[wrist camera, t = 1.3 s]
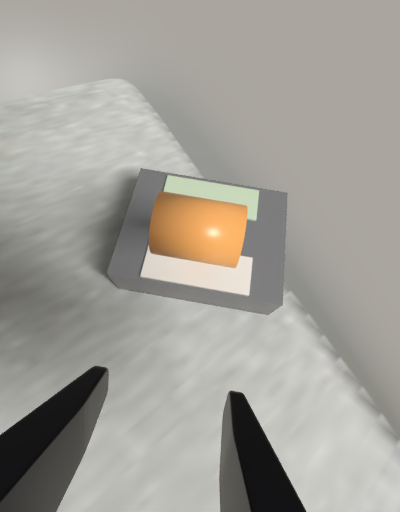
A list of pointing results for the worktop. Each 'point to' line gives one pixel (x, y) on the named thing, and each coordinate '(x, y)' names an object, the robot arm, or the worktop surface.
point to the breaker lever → (197, 229)
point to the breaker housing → (196, 273)
